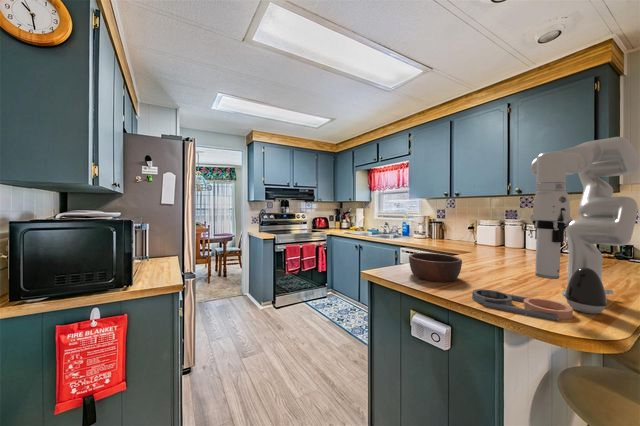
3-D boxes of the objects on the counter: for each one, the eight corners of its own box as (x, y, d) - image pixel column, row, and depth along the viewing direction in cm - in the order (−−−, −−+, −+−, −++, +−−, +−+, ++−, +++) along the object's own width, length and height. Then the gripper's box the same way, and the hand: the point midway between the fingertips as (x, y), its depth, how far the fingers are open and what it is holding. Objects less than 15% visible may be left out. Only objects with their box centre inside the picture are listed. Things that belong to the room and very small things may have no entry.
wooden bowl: (453, 272, 143) (454, 254, 142) (468, 286, 118) (469, 263, 118) (406, 269, 148) (406, 251, 148) (411, 281, 124) (411, 260, 124)
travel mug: (565, 280, 85) (567, 219, 85) (542, 278, 87) (544, 219, 86) (552, 275, 92) (554, 218, 91) (531, 274, 93) (532, 218, 92)
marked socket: (549, 305, 96) (550, 298, 95) (582, 319, 83) (583, 311, 83) (515, 304, 96) (515, 297, 96) (543, 318, 84) (543, 311, 84)
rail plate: (470, 303, 96) (470, 296, 96) (475, 292, 110) (475, 286, 109) (557, 321, 82) (558, 313, 82) (551, 305, 95) (551, 298, 95)
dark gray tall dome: (559, 308, 92) (560, 266, 92) (571, 303, 97) (572, 263, 97) (600, 319, 83) (602, 272, 83) (610, 313, 88) (612, 269, 88)
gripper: (586, 186, 80) (584, 244, 80) (540, 190, 97) (539, 238, 97) (561, 186, 80) (560, 244, 80) (520, 190, 97) (519, 237, 98)
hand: (548, 240), depth 89 cm, fingers closed on travel mug, 6 cm apart
